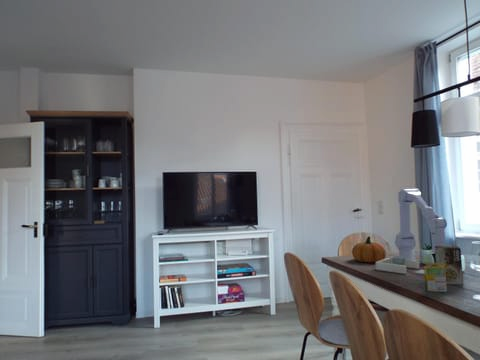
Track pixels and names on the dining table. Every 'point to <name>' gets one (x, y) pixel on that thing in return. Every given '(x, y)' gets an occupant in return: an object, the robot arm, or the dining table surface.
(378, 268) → the open side box
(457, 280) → the coffee box
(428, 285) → the crayon box
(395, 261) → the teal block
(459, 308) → the dining table surface
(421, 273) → the grey pad
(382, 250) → the pumpkin
